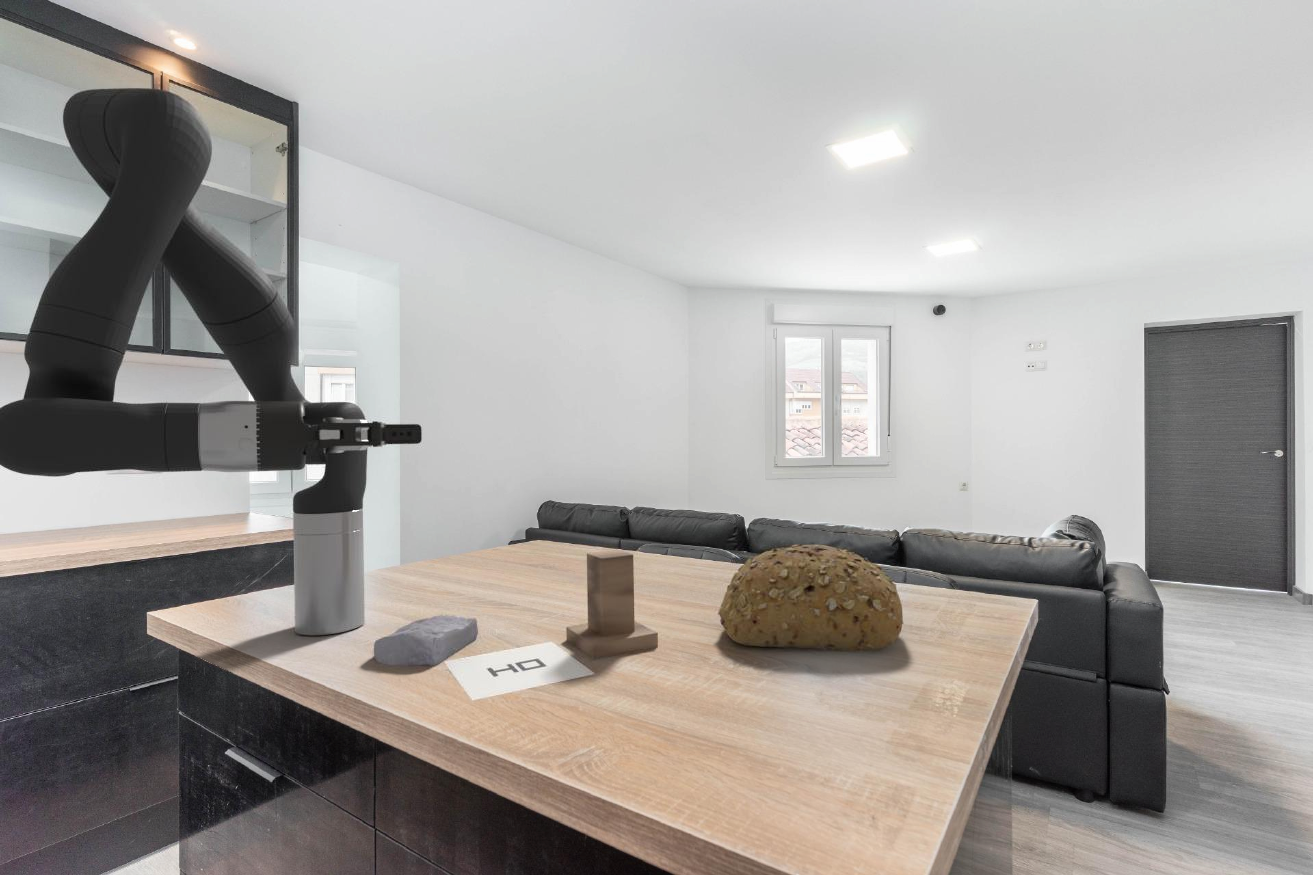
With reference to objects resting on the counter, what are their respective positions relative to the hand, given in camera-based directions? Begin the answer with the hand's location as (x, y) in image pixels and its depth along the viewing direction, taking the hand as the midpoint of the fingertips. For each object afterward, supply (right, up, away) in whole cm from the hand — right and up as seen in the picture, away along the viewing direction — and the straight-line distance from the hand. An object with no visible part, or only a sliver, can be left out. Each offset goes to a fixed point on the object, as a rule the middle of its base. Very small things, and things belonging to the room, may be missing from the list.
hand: (414, 434), depth 77 cm
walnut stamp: (+23, -28, +8) cm, 37 cm away
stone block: (-1, -29, +7) cm, 29 cm away
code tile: (+12, -28, 0) cm, 30 cm away
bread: (+50, -28, +13) cm, 58 cm away
